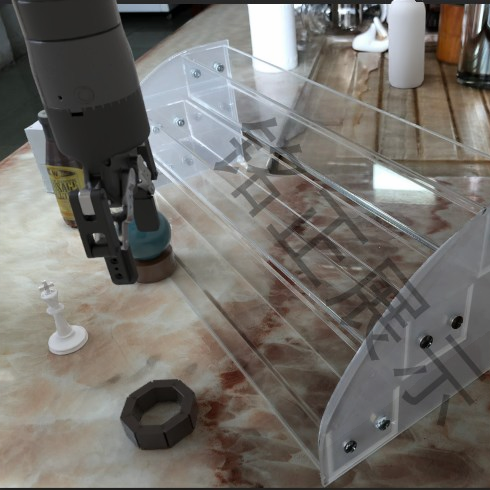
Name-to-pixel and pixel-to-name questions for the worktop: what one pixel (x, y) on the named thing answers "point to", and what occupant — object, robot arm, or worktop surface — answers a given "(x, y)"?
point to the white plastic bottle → (406, 43)
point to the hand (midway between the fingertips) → (138, 254)
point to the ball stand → (152, 251)
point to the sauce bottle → (61, 172)
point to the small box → (39, 151)
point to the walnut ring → (169, 430)
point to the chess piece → (61, 324)
